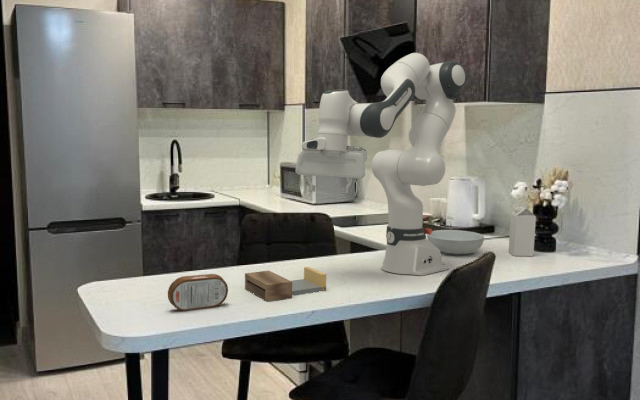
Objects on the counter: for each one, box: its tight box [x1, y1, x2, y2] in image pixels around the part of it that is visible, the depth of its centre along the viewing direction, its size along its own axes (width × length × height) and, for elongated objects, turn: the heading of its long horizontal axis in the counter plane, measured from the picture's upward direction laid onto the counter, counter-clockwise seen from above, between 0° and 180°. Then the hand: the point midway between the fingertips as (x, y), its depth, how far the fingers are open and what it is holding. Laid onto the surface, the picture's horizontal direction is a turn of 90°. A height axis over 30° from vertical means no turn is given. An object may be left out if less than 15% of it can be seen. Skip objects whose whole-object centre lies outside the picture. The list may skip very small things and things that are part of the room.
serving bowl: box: [426, 229, 485, 256], centre depth 225 cm, size 21×21×7 cm
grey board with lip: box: [291, 266, 327, 296], centre depth 171 cm, size 11×10×5 cm
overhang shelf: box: [244, 270, 293, 302], centre depth 165 cm, size 8×14×4 cm, turn 31°
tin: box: [167, 273, 229, 312], centre depth 151 cm, size 15×3×8 cm, turn 118°
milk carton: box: [508, 202, 537, 257], centre depth 223 cm, size 7×7×19 cm
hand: (328, 192), depth 175 cm, fingers open, 8 cm apart
